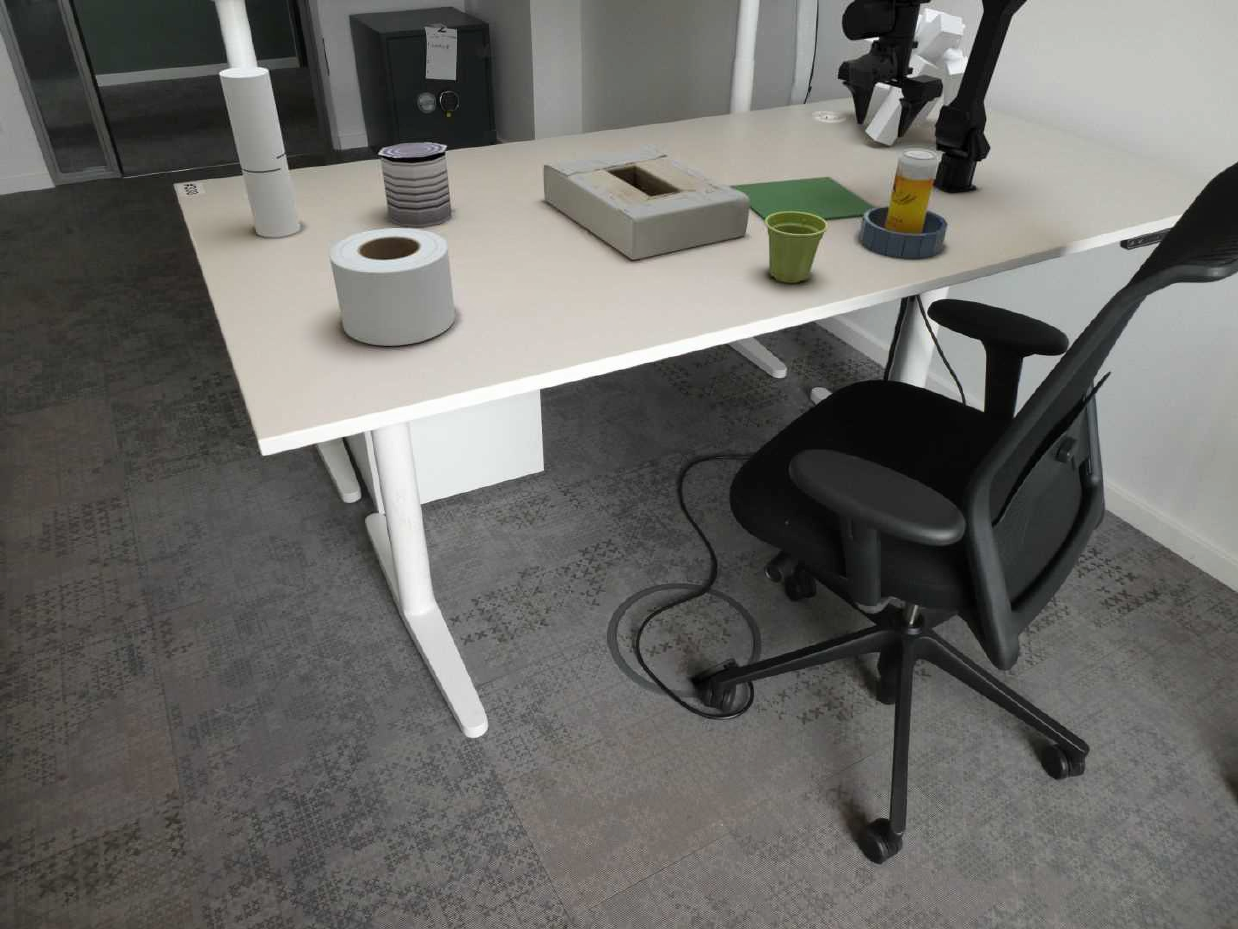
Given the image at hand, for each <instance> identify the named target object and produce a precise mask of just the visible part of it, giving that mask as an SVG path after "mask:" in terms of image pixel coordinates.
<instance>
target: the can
mask: <svg viewBox="0 0 1238 929" xmlns="http://www.w3.org/2000/svg"><path fill="white" fill-rule="evenodd" d="M447 147H448V145H447V144H441V143H437V142H432V141H431V142H430V141H427V142H426V141H425V142H405V143H404V142H403V143H399V144H395V145H391V146H386V147H381V149H380V150H379V152H378V154H377V155H379V156H380V163H381V171H382V177H383V184H384V192H385V198H386V206H387V213H388V220H389V221H390V222H392V223H394V224H396V225H397V226H400V227H407V228H408V227H409V228H410V227H411V228H425V227H432V226H439V225H441V224H443V223H445V222H447V221H449V220H450V219H452V204H451V203H452V202H451V194H450V184H449V182H450V181H449V174H448V163H447V153H446V149H447Z"/></svg>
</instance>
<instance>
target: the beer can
mask: <svg viewBox="0 0 1238 929" xmlns="http://www.w3.org/2000/svg"><path fill="white" fill-rule="evenodd" d="M937 155H938V154H937V152H935V151H932V150H929V149H925V148H919V147H918V148H914V147H913V148H912V147H911V148H906V149H904V150H902V153H901V154H900V155H899V157H898V160H897V165H896V170H895V175H894V181H893V185H892V188H891V194H890V199H889V204H888V205H889V209H888V214H887V219H886V224H885V229H887V230H890V231H895V232H901V233H909V234H921V233H922V228H923V224H924V220H925V215H926V211H928V207H929V203H930V198H931V193H932V190H933V185H934V184H933V181H934V179H935V177H936V173H937V169H938V164H939V161H938V157H937Z"/></svg>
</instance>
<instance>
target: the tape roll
mask: <svg viewBox="0 0 1238 929" xmlns="http://www.w3.org/2000/svg"><path fill="white" fill-rule="evenodd" d="M448 245H449V244H448V242H447V241H446V239H445V238H443V237H442V236H440V235H439V234H436V233H435V232H432V231H428V230H423V229H420V228H419V229H418V228H410V227H409V228H408V227H407V228H406V227H393V228H392V227H391V228H390V227H389V228H380V229H373V230H371V229H370V230H366V231H363V232H359V233H356V234H353V235H350V236H348V237H346V238H344V239H342V240H339V242H336V243H335V244H334V245H333V246H332V248H331V249H330V251H329V261H330V265H331V270H332V275H333V276H332V277H333V281H334V286H335V290H336V296H337V301H338V306H339V311H340V312H339V313H340V316H341V317H340V318H341V322H342V327H343V330H344V332H345V333H346V334H347V335H348V336H349V337H351V338H352V339H353V340H356V341H358V342H360V343H364V344H369V345H374V346H387V347H388V346H392V347H393V346H395V347H396V346H404V345H411V344H412V345H413V344H416V343H421V342H424V341H428V340H429V339H432V338H435V337H437V336H439V335H441V334H443V333H444V332H446V331H447V330H448V329H449V328H450V327H451V326H452V325H453V324H454V322H455V320H456V310H455V302H454V294H453V293H454V292H453V282H452V275H451V264H450V254H449V247H448ZM344 326H345V327H344ZM349 331H350V332H349Z"/></svg>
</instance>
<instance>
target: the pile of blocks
mask: <svg viewBox="0 0 1238 929" xmlns="http://www.w3.org/2000/svg"><path fill="white" fill-rule="evenodd" d="M966 26H967V25H966V24H964V23H963V18H962V17H961V16H957V15H952V14H948V13H947V12H943V11H940V10H936V9H931V8H928V7H925V8H924V10H923V12H922V13H921V14H920V13H919V16H918V21H917V26H916V32H915V37H914V41H918V47H917V48H915V49H912V53H911V58H910V63H909V67H912V68H913V73H912V74H911V75H907V77H908V78H911V77H916V76H921V75H927V76H931V77H935V78H939V79H941V80H942V83H943V91H942V95H941V97H942V96H943V102H942V103H943V104H942V106H943V105H946V106H948V105H949V104H950V103H951V102H952V101H953V100H954V99H955V98H956V96H957V93H958V90H959V87H960V84H961V81H962V78H963V74H964V71H965V68H966V65H967V62H968V59H969V58H968V57H967V56H963V50H962V49H960V48H959V47H960V45H961V41H962V38H963V36H964V32H965V29H966ZM873 40H879V37H877V38H870V39H863V40H856V41H852V42H853V43H852V48H851V54H850V60H855V59H858V58H860V57H861V56H863V55H865V54H868V53H869V52H870V50H871V45H872V43H873ZM893 81H897V80H893ZM901 90H902V89H901V88H897V87H894V86H890V85H886V84H883V83H877V84H876V85H875V87H874V90H873V94H872V97H871V101H870V104H869V108H868V111H867V115H866V117H869V118H872V119H871V121H870V123H869V125H868V126H867V128H866V130H864V132H865V133H866V134H867V135H868V136H870V137H871V138H872V139H873V140H874V141H875V142H878V143H880V144H883V145H887V146H889V147H892V145H893V144H894V142H895V140H896V139H897V138H898V137H897V134H898V126H899V120H900V115H901V110H902V106H901V104H900V101H899V98H904V96H903V94H902V92H901ZM941 97H938V98H934V100H933V101H930V102H928V103H927V104H926V105H925V106H924V107H923V109H922V110H921V111H920V112H919V114H918V115H917V116H916V118H915V119H914V121H913V122H912V124H911V125H913V126H917V127H921V126H922V125H923V124H924V122H925V121H926V119H927V118H928V116H929V115H930V113H931V112H932V110H934V107H935V106H936V104H937V103H938V102H939V100H941Z"/></svg>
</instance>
